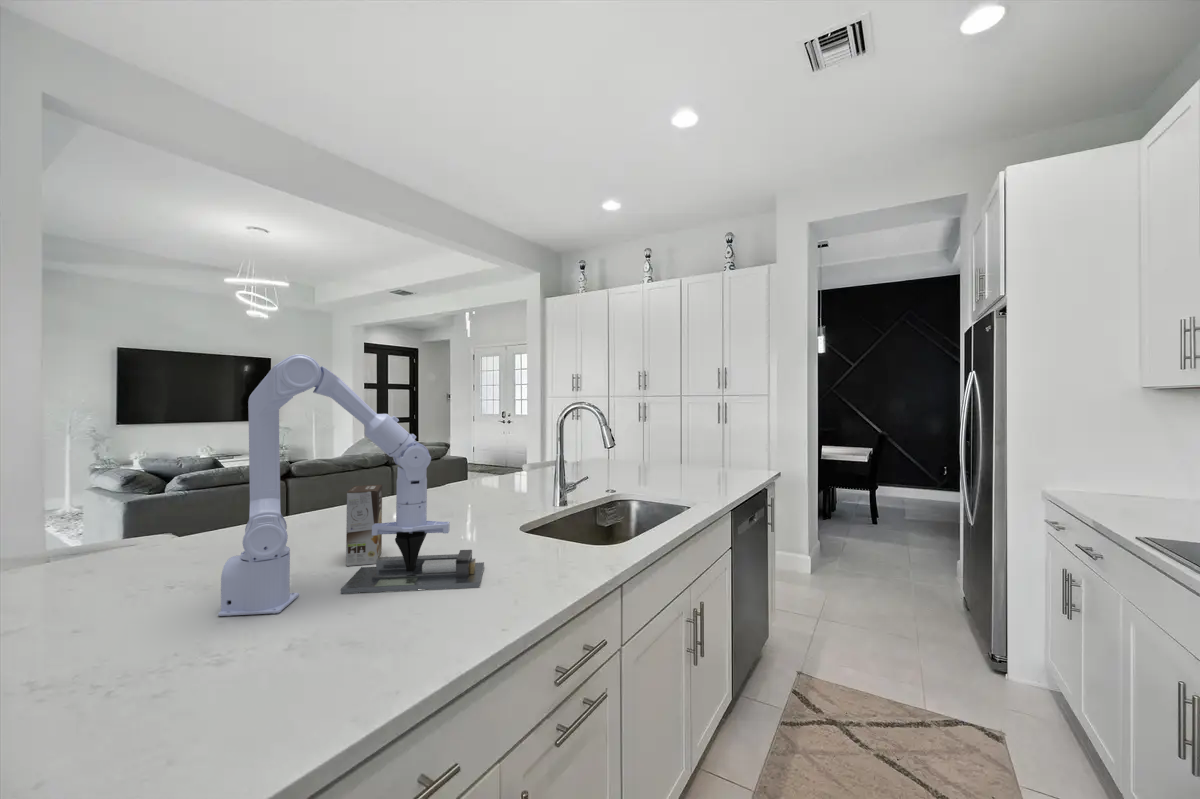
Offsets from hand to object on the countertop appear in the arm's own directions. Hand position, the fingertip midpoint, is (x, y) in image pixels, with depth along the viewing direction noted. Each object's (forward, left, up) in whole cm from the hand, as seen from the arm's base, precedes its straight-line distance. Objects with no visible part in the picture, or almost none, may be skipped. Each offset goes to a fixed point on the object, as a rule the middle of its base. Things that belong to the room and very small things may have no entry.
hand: (411, 569), depth 101 cm
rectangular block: (+7, 0, -1) cm, 7 cm away
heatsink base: (+1, 0, -2) cm, 2 cm away
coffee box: (-13, +15, -2) cm, 20 cm away
